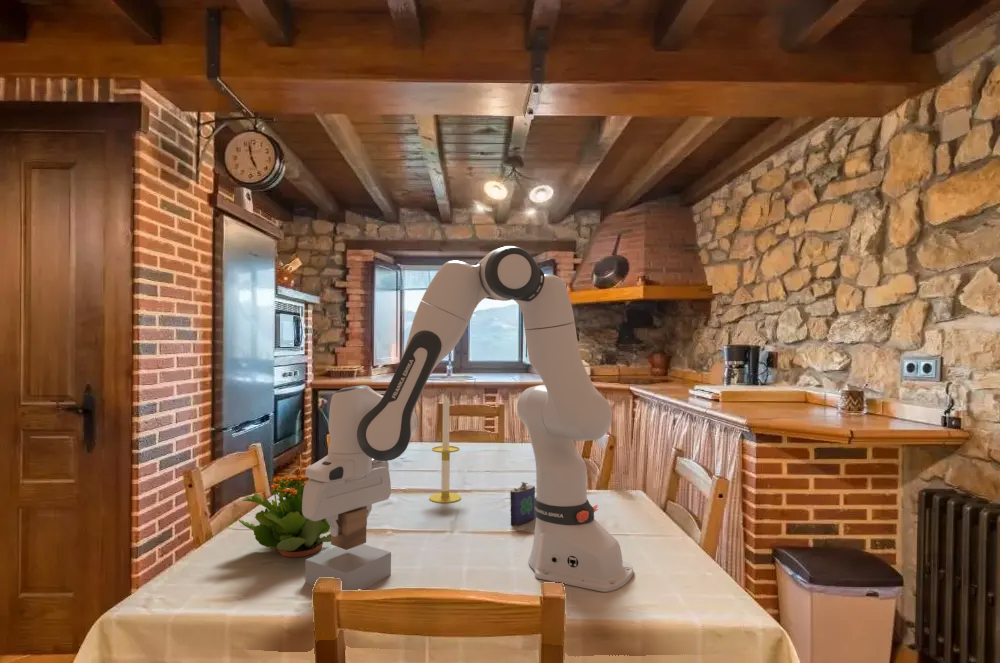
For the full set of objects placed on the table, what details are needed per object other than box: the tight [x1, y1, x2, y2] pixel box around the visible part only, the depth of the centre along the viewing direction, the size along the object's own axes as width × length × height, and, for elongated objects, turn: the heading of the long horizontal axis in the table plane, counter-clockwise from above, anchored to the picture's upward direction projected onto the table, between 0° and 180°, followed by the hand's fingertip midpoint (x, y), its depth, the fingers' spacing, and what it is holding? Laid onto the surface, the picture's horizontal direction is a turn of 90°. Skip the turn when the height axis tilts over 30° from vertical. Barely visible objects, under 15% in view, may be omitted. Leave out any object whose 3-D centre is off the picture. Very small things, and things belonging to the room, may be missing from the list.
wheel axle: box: [429, 394, 462, 504], centre depth 167 cm, size 10×10×32 cm
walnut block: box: [330, 507, 368, 550], centre depth 111 cm, size 5×5×7 cm
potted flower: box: [237, 474, 331, 558], centre depth 125 cm, size 25×24×18 cm
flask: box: [509, 481, 536, 527], centre depth 146 cm, size 9×3×11 cm, turn 138°
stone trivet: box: [304, 543, 392, 590], centre depth 110 cm, size 12×12×5 cm
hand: (349, 530), depth 111 cm, fingers closed on walnut block, 5 cm apart
